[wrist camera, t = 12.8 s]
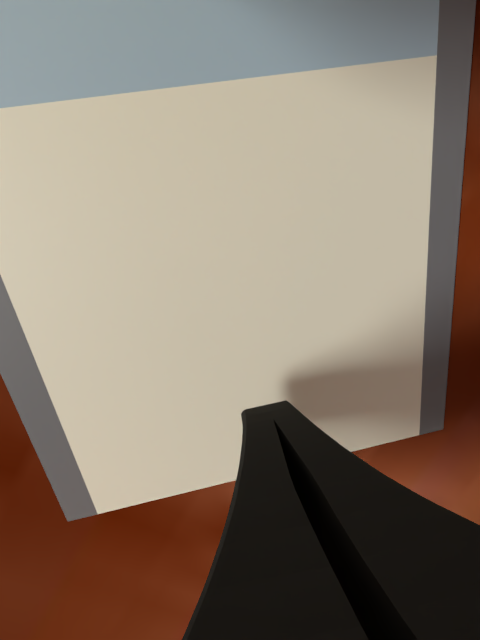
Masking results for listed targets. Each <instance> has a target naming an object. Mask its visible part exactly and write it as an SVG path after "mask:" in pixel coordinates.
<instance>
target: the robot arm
mask: <svg viewBox="0 0 480 640" xmlns="http://www.w3.org/2000/svg"><path fill="white" fill-rule="evenodd" d="M241 418H242V425H243V434H242V447H241V454H240V462H239V468H238V474H237V478H236V483H235V488H234V493H233V497H232V501H231V505H230V509H229V513H228V516H227V520H226V523H225V527H224V530H223V533H222V537H221V540H220V543H219V546H218V549H217V552H216V555H215V558H214V560H213V563H212V566H211V569H210V572H209V575H208V578H207V580H206V583H205V586H204V588H203V591H202V593H201V596H200V598H199V601H198V603H197V606H196V608H195V610H194V613H193V615H192V617H191V620H190V622H189V625H188V627H187V629H186V632H185V634H184V636H183V639H182V640H480V525H478V524H476V523H474V522H472V521H470V520H468V519H466V518H464V517H461V516H459V515H457V514H455V513H453V512H451V511H449V510H447V509H445V508H443V507H441V506H439V505H437V504H435V503H433V502H431V501H430V500H428V499H426V498H424V497H422V496H420V495H418V494H417V493H415V492H413V491H411V490H410V489H408V488H406V487H404V486H403V485H401V484H399V483H397V482H396V481H394V480H392V479H391V478H389V477H387V476H386V475H384V474H382V473H381V472H379V471H378V470H376V469H375V468H373V467H372V466H370V465H369V464H367V463H366V462H364V461H363V460H361V459H360V458H358V457H357V456H356V455H354V454H353V453H351V452H350V451H349V450H347V449H346V448H344V447H343V446H342V445H340V444H339V443H338V442H336V441H335V440H334V439H333V438H331V437H330V436H329V435H327V434H326V433H325V432H323V431H322V430H321V429H320V428H318V427H317V426H316V425H315V424H314V423H312V422H311V421H310V420H309V419H308V418H307V417H305V416H304V415H303V414H302V413H301V412H300V411H299V410H297V409H296V408H295V407H294V406H293V405H292V404H291V403H289V402H288V401H286V400H285V401H281V402H276V403H272V404H267V405H263V406H258V407H254V408H249V409H245V410H244V411H243V412H242V413H241Z"/></svg>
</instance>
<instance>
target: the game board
mask: <svg viewBox="0 0 480 640" xmlns="http://www.w3.org/2000/svg"><path fill="white" fill-rule="evenodd" d="M475 9H476V0H0V373H1V375H2V378H3V380H4V382H5V384H6V386H7V389H8V391H9V393H10V395H11V397H12V400H13V402H14V404H15V406H16V408H17V411H18V413H19V415H20V417H21V419H22V422H23V424H24V426H25V428H26V430H27V433H28V435H29V437H30V439H31V441H32V444H33V446H34V448H35V450H36V453H37V455H38V457H39V459H40V461H41V464H42V466H43V468H44V470H45V472H46V475H47V477H48V479H49V481H50V483H51V486H52V488H53V490H54V492H55V494H56V497H57V499H58V501H59V503H60V505H61V508H62V510H63V512H64V514H65V516H66V519H67V521H72V520H76V519H80V518H84V517H88V516H92V515H96V514H100V513H104V512H108V511H112V510H117V509H121V508H125V507H129V506H133V505H137V504H141V503H145V502H149V501H153V500H157V499H161V498H165V497H169V496H173V495H178V494H182V493H186V492H190V491H194V490H198V489H202V488H206V487H210V486H214V485H218V484H222V483H226V482H230V481H234V480H236V478H237V474H238V468H239V462H240V454H241V447H242V434H243V425H242V418H241V413H242V412H243V411H244V410H245V409H249V408H254V407H258V406H263V405H267V404H272V403H276V402H281V401H285V400H286V401H288V402H289V403H291V404H292V405H293V406H294V407H295V408H296V409H297V410H299V411H300V412H301V413H302V414H303V415H304V416H305V417H307V418H308V419H309V420H310V421H311V422H312V423H314V424H315V425H316V426H317V427H318V428H320V429H321V430H322V431H323V432H325V433H326V434H327V435H329V436H330V437H331V438H333V439H334V440H335V441H336V442H338V443H339V444H340V445H342V446H343V447H344V448H346V449H347V450H349V451H350V452H352V451H356V450H361V449H365V448H369V447H373V446H377V445H381V444H385V443H389V442H393V441H397V440H401V439H405V438H409V437H413V436H417V435H422V434H426V433H430V432H434V431H438V430H442V429H443V427H444V414H445V401H446V388H447V375H448V362H449V349H450V336H451V323H452V310H453V297H454V284H455V271H456V257H457V244H458V231H459V218H460V205H461V192H462V179H463V166H464V153H465V140H466V127H467V114H468V101H469V88H470V75H471V62H472V49H473V36H474V22H475Z"/></svg>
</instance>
